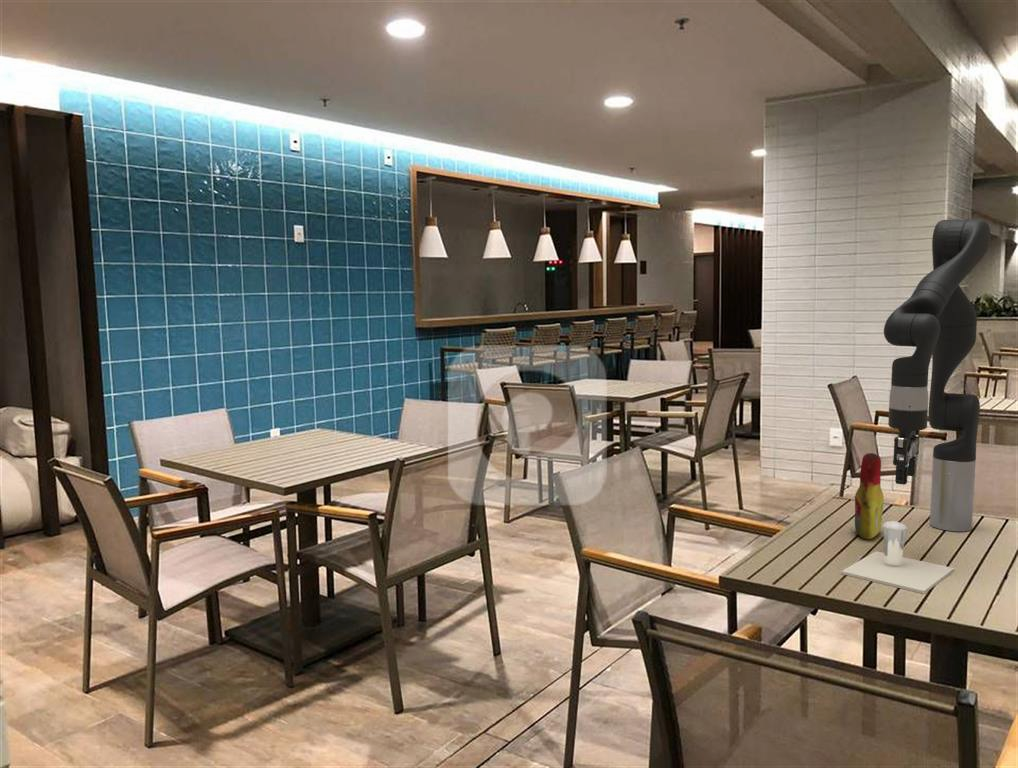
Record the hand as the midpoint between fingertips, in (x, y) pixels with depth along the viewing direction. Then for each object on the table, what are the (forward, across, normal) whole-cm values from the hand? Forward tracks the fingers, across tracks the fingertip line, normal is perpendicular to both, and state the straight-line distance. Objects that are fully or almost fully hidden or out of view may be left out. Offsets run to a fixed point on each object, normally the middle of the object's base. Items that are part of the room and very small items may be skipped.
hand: (905, 479), depth 174 cm
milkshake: (+17, -8, 0) cm, 19 cm away
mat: (+17, -12, -1) cm, 21 cm away
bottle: (+18, +12, +10) cm, 24 cm away
